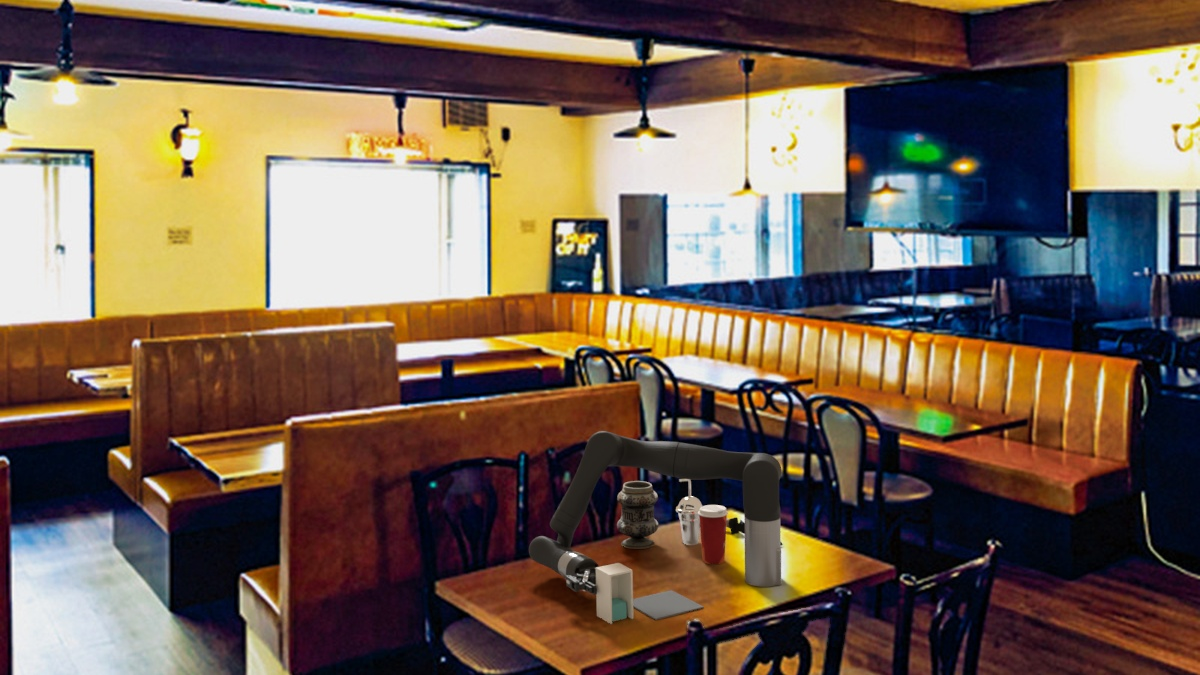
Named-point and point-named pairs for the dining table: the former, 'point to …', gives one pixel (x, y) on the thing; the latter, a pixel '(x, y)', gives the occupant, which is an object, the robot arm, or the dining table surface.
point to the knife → (737, 526)
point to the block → (618, 609)
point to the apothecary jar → (637, 514)
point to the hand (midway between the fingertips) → (610, 587)
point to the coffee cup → (713, 533)
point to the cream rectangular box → (613, 589)
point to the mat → (664, 604)
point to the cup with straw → (689, 517)
